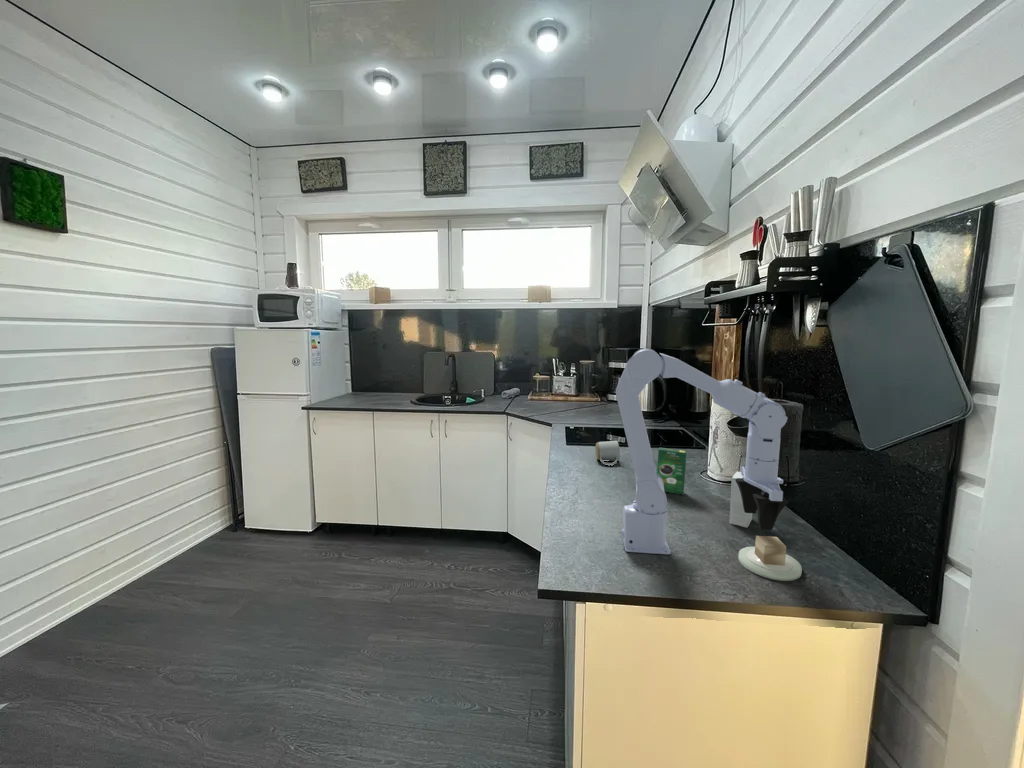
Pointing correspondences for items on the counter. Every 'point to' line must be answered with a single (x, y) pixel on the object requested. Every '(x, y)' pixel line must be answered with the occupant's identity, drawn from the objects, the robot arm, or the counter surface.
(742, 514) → the skincare box
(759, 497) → the robot arm
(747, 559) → the dish
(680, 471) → the coffee box
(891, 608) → the counter surface
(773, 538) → the block
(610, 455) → the ceramic mug
